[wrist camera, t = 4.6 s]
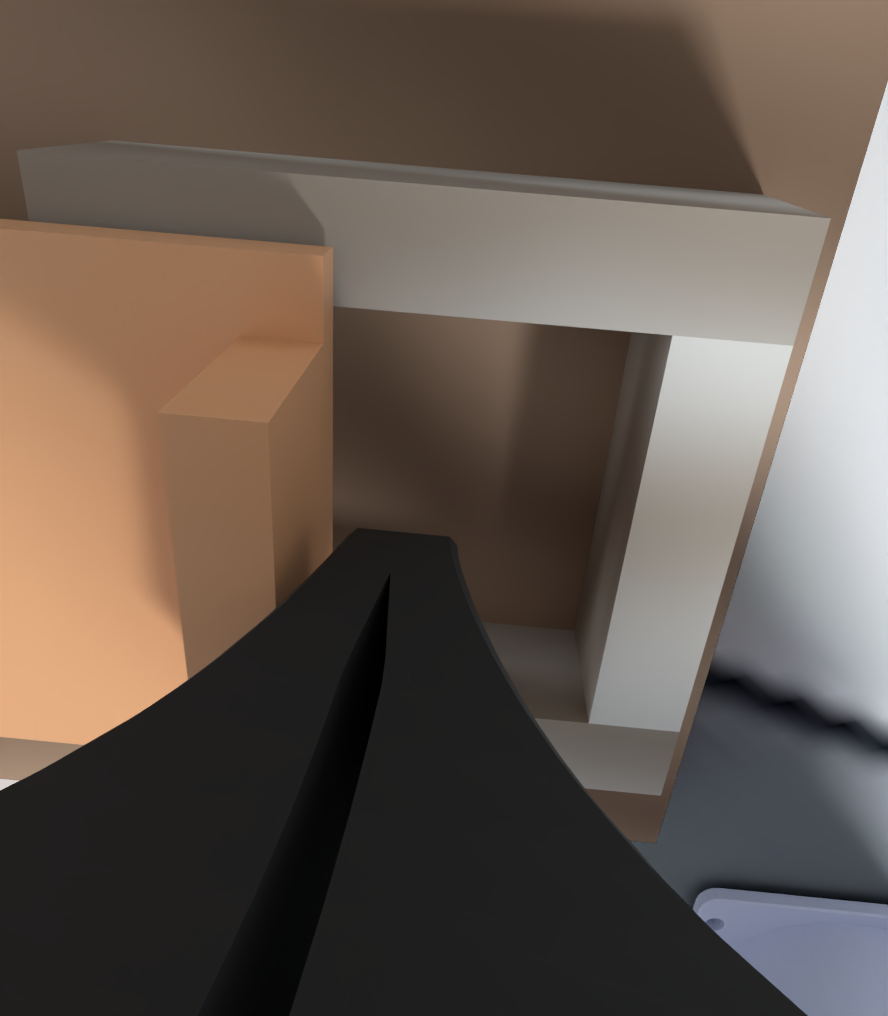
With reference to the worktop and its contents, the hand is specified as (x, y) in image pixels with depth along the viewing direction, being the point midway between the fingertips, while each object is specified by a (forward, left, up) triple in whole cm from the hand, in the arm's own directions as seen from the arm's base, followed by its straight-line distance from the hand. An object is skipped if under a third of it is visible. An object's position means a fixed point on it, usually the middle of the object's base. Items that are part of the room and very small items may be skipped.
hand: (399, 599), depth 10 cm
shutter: (0, +5, -1) cm, 5 cm away
